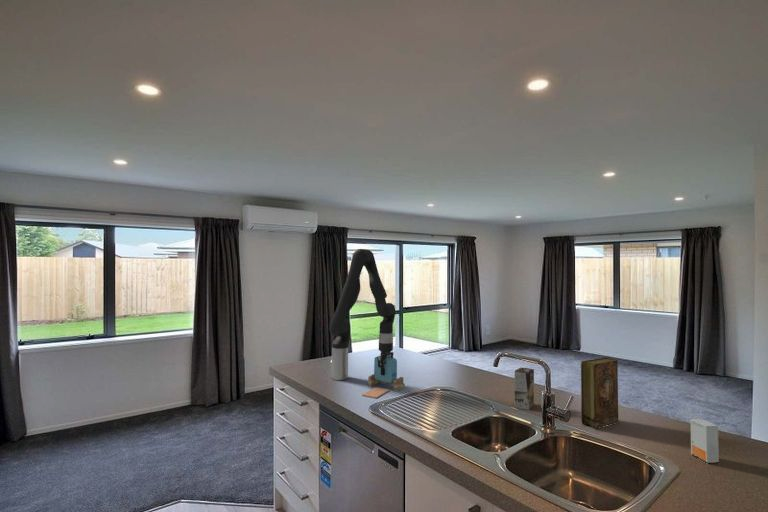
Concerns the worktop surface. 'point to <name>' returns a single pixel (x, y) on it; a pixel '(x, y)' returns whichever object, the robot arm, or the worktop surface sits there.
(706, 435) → the skincare box
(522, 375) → the coffee box
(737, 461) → the worktop surface
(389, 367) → the blue flat block
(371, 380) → the oak rack
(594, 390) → the book
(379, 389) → the terracotta pad
